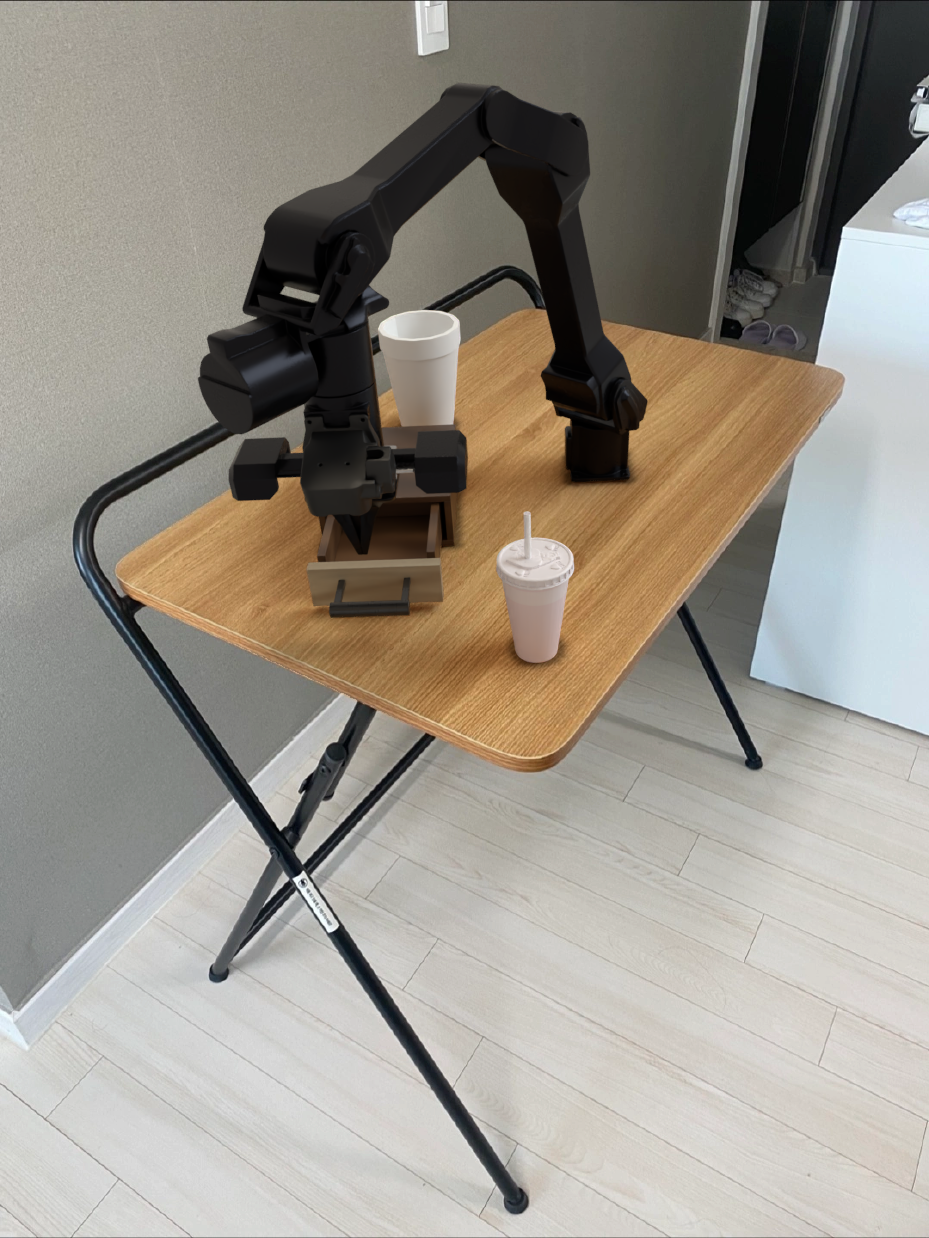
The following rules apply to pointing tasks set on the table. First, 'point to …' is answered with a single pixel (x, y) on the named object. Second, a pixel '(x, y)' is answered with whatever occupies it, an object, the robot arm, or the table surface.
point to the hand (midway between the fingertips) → (363, 552)
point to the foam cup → (422, 365)
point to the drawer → (381, 564)
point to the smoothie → (535, 592)
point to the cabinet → (407, 483)
